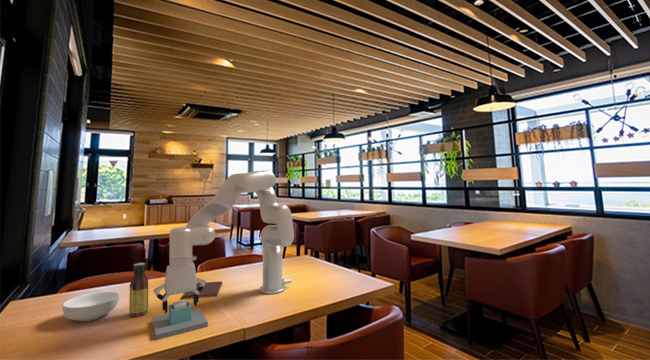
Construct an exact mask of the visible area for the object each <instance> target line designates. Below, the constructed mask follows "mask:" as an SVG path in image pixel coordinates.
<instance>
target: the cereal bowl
mask: <svg viewBox="0 0 650 360" xmlns="http://www.w3.org/2000/svg"><path fill="white" fill-rule="evenodd" d="M119 300H120V294H119V293H118V292H116V291H98V292H96V291H95V292H91V293H85V294H81V295H78V296H75V297H73V298H72V297H71V298H70V299H67V300H66V301H65V302H64V303H62V312H63V315H64V316H65V318H67V319H69V320H73V321H79V322H91V321H94V320H98V319H100V318H102V317H103V316H105V315H106V314H109V313H111V311H113V310H114V309H115V308H116V307H117V305H118V304H119Z"/></svg>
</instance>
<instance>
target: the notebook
mask: <svg viewBox="0 0 650 360" xmlns="http://www.w3.org/2000/svg"><path fill="white" fill-rule="evenodd" d="M200 285H201V283H199V282H196V289H198V288H199V286H200ZM222 285H223V281H222V280H221V281H206V284H205V286H204V288H203V290H202V291H201V292H200V294H199V299H200V298H201V299H202V298H214V297H217V296H218V294H219V293H220V290H221V288H222ZM193 294H194V292H193V291H190V292H185V293H183V295H182V296H181V300H189V299H191V300H192V299H193Z"/></svg>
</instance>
